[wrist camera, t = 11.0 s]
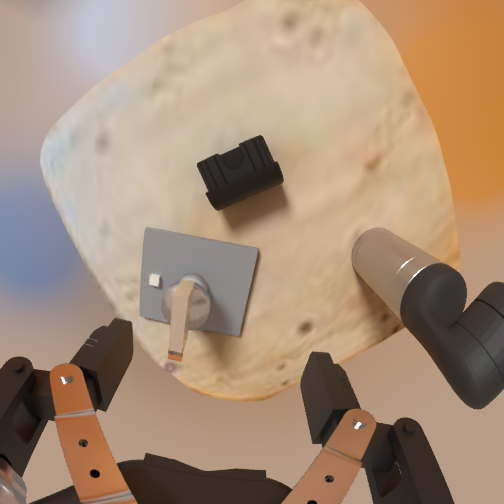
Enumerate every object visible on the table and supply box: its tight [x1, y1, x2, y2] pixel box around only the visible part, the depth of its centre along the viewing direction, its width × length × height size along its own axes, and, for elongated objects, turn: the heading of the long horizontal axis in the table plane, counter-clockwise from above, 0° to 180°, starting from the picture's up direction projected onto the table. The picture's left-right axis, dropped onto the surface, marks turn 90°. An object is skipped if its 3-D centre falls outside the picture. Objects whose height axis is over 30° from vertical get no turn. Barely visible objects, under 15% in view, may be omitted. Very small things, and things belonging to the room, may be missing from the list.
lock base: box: [140, 227, 258, 336], centre depth 43 cm, size 18×16×6 cm
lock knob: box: [161, 279, 211, 362], centre depth 37 cm, size 10×7×7 cm
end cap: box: [197, 135, 284, 211], centre depth 38 cm, size 10×7×7 cm
